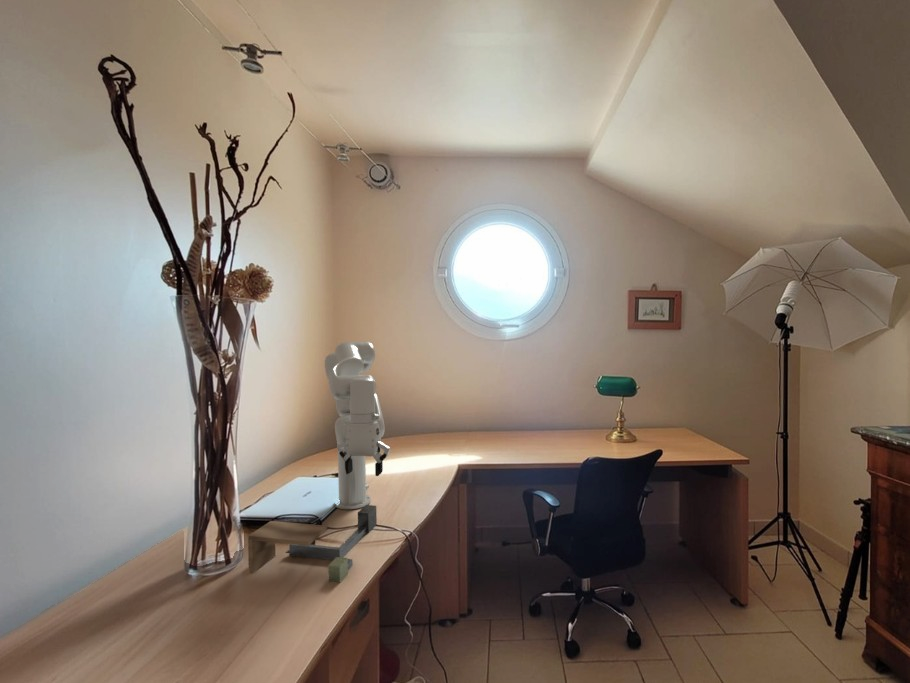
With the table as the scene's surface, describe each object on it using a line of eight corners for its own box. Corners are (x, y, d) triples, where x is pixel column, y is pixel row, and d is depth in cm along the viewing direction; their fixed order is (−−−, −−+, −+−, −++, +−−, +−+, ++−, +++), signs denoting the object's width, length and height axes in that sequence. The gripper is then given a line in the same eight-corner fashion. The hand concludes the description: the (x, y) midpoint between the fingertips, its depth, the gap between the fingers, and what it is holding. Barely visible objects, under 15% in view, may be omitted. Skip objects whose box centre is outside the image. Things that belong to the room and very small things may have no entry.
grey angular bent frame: (331, 520, 138) (331, 502, 138) (376, 524, 135) (376, 505, 135) (289, 555, 116) (289, 533, 116) (342, 561, 113) (341, 538, 113)
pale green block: (344, 564, 111) (344, 549, 111) (355, 565, 111) (354, 550, 111) (328, 581, 103) (328, 565, 103) (340, 583, 103) (339, 566, 103)
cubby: (271, 555, 117) (270, 520, 117) (328, 561, 113) (327, 525, 113) (248, 573, 108) (248, 535, 108) (309, 580, 104) (308, 541, 104)
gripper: (393, 416, 132) (394, 471, 132) (342, 415, 136) (343, 468, 136) (384, 421, 125) (385, 479, 125) (330, 419, 129) (331, 476, 129)
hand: (363, 473), depth 131 cm, fingers open, 9 cm apart
